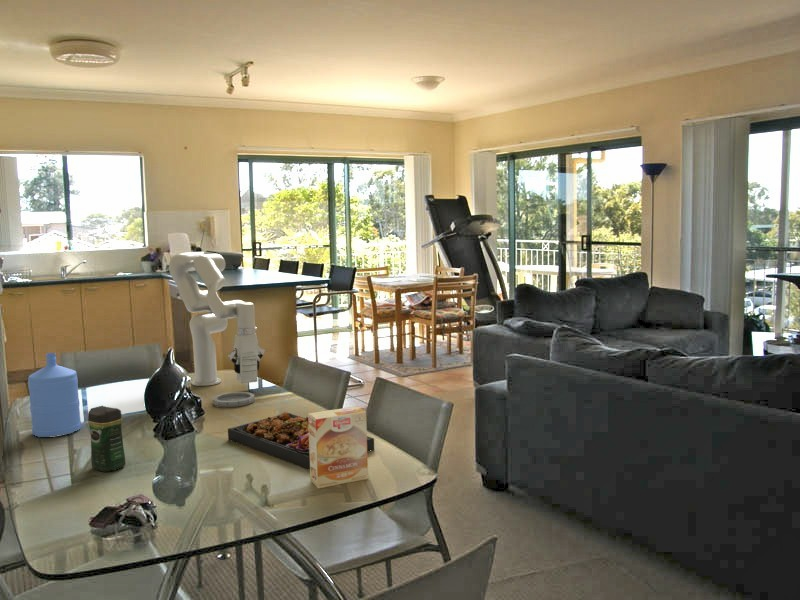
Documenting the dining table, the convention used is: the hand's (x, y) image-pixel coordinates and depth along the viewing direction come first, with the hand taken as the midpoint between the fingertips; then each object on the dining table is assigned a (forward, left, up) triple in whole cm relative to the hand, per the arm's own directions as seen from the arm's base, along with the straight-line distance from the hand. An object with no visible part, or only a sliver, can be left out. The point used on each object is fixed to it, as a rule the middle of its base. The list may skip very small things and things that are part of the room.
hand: (247, 371), depth 303 cm
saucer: (+14, -14, -8) cm, 21 cm away
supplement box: (0, 0, -4) cm, 4 cm away
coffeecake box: (+113, -33, -9) cm, 118 cm away
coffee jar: (+56, -77, -9) cm, 95 cm away
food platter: (+78, -24, -9) cm, 83 cm away
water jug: (+5, -78, -9) cm, 78 cm away
